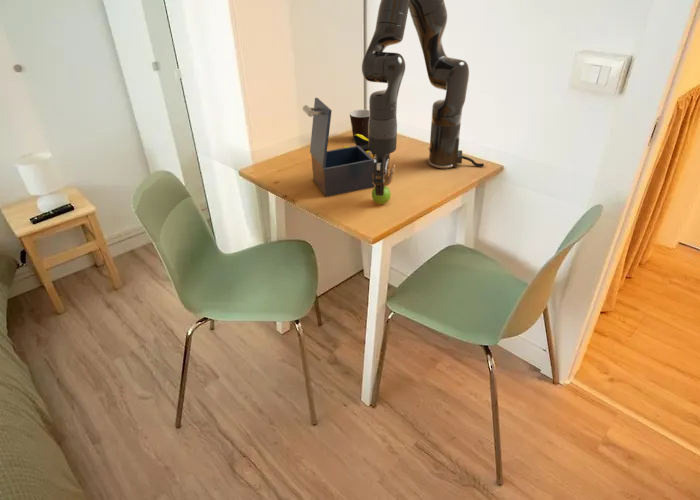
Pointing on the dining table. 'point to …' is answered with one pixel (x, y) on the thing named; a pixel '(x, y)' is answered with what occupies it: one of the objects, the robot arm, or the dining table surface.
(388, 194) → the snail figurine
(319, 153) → the lid
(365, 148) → the gaming controller
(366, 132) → the coffee mug
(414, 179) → the dining table surface
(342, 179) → the compartment
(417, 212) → the dining table surface
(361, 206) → the dining table surface
